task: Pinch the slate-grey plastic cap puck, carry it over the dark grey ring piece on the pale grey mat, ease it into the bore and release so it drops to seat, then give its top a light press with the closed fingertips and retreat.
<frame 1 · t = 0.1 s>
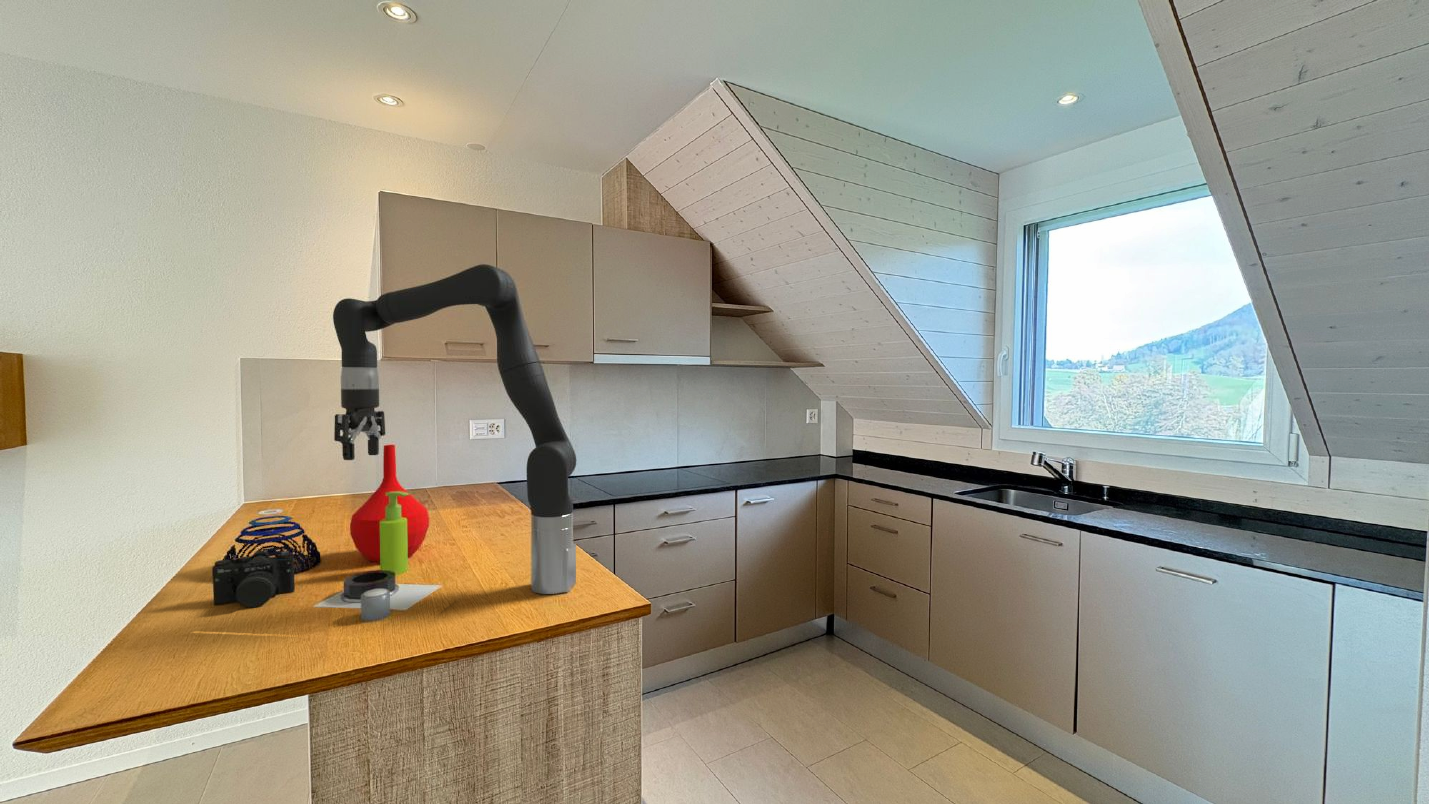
hand: (361, 457, 135), 29 cm above the counter, fingers open, 8 cm apart
dark grey ring piece: (370, 593, 128), resting on mat
mat: (380, 597, 127), on the counter
vase: (391, 558, 155), on the counter
camera: (252, 603, 124), on the counter
decorative bowl: (271, 569, 146), on the counter
cap: (375, 618, 116), on the counter
soap dispenser: (396, 574, 143), on the counter
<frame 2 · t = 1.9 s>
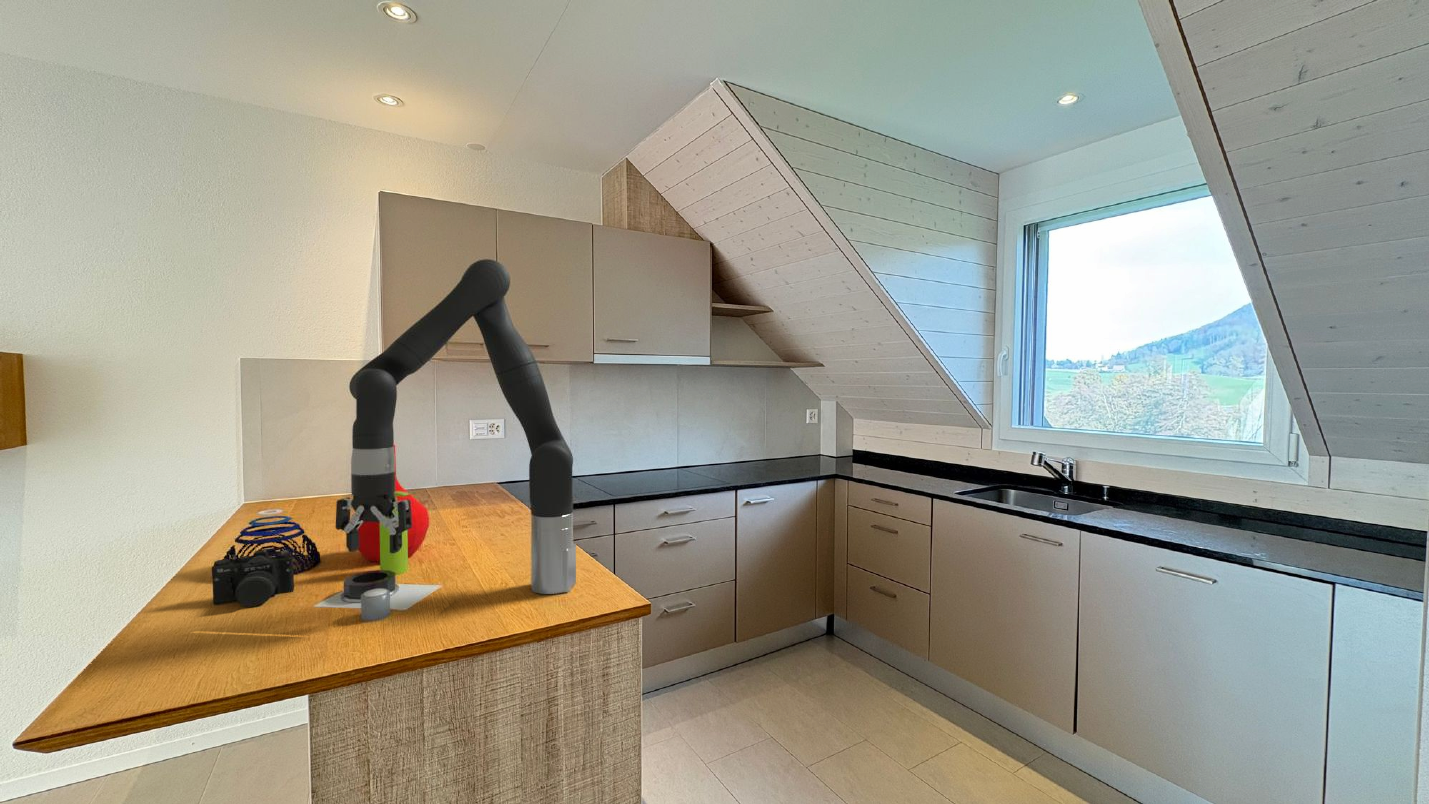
hand: (374, 551, 116), 13 cm above the counter, fingers open, 8 cm apart
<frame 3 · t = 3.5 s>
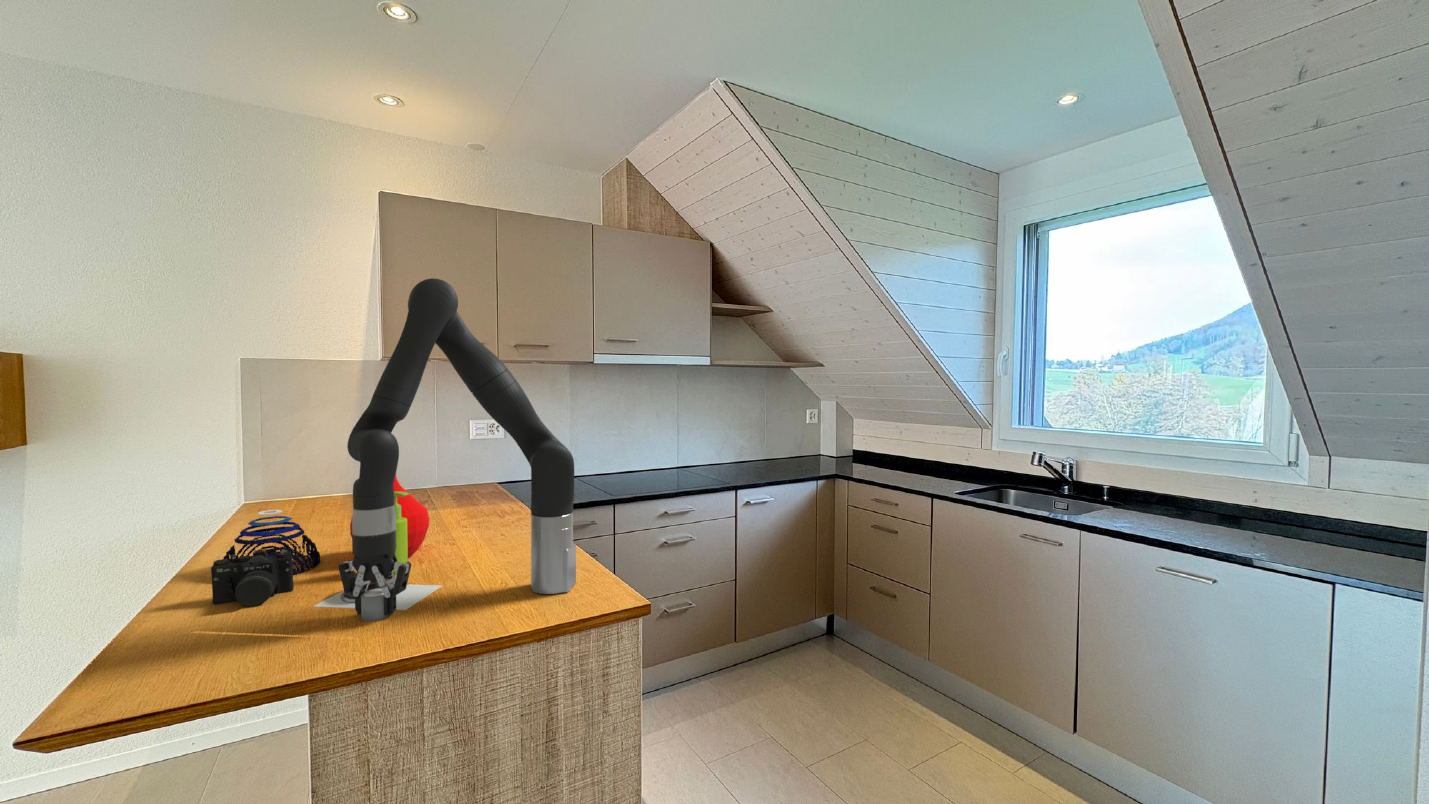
hand: (375, 613, 116), 1 cm above the counter, fingers closed on cap, 5 cm apart
cap: (376, 618, 116), on the counter, touching gripper
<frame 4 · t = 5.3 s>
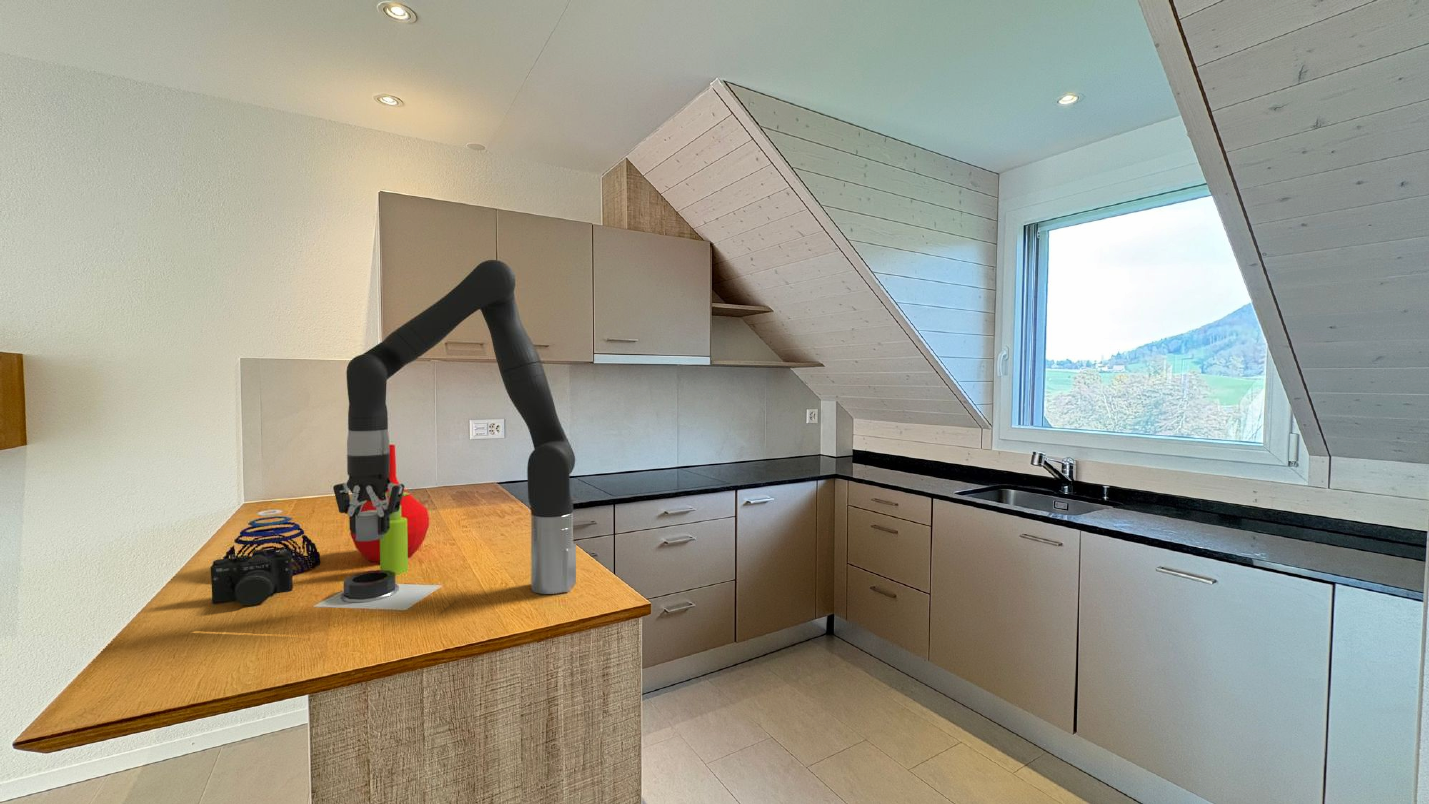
hand: (369, 533, 121), 16 cm above the counter, fingers closed on cap, 5 cm apart
cap: (369, 537, 121), point 15 cm above the counter, touching gripper
when the fingers open (4 cm above the counter, at t = 7.4 s): cap drops 2 cm, resting on dark grey ring piece.
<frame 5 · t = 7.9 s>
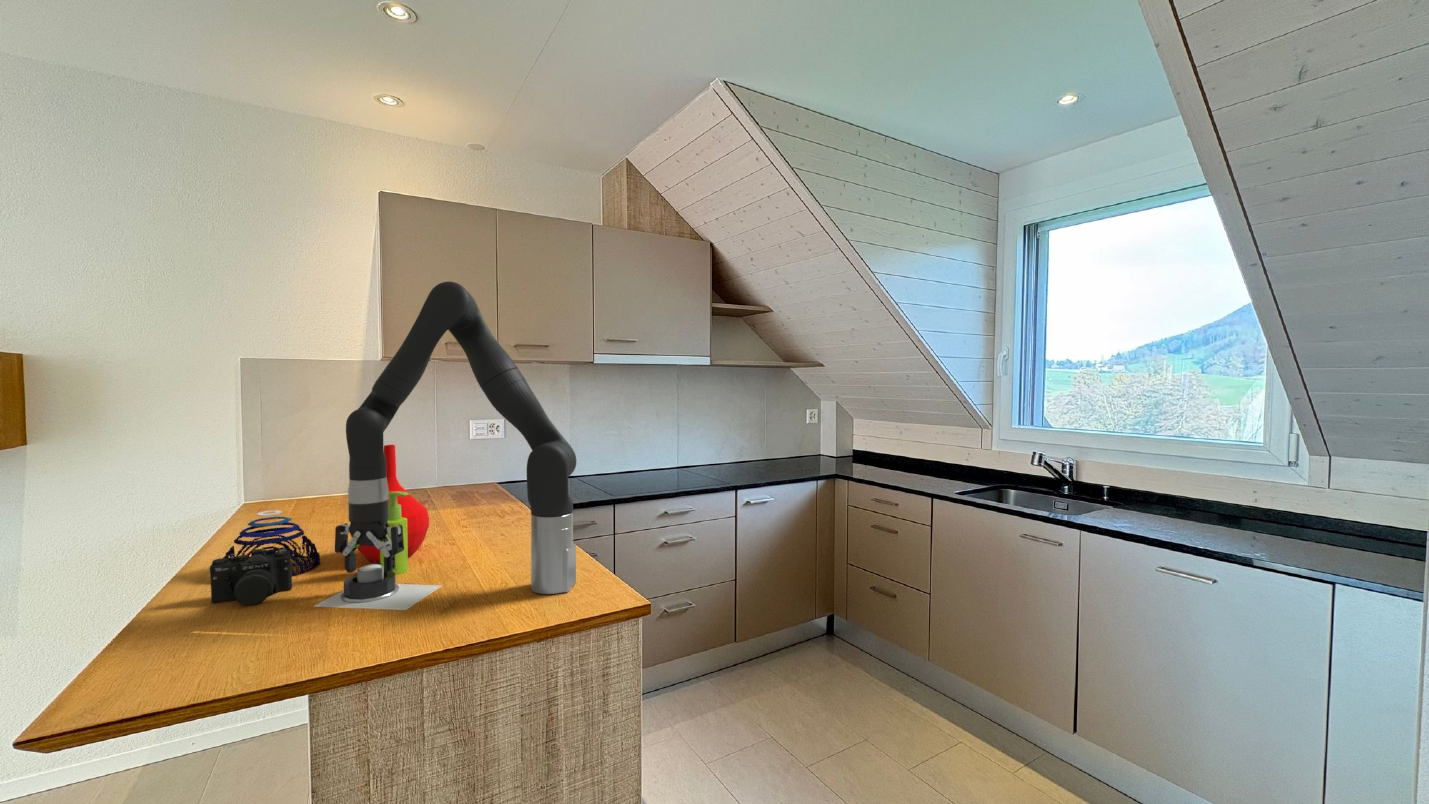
hand: (370, 572, 128), 5 cm above the counter, fingers open, 8 cm apart
cap: (370, 591, 128), point 1 cm above the counter, touching dark grey ring piece
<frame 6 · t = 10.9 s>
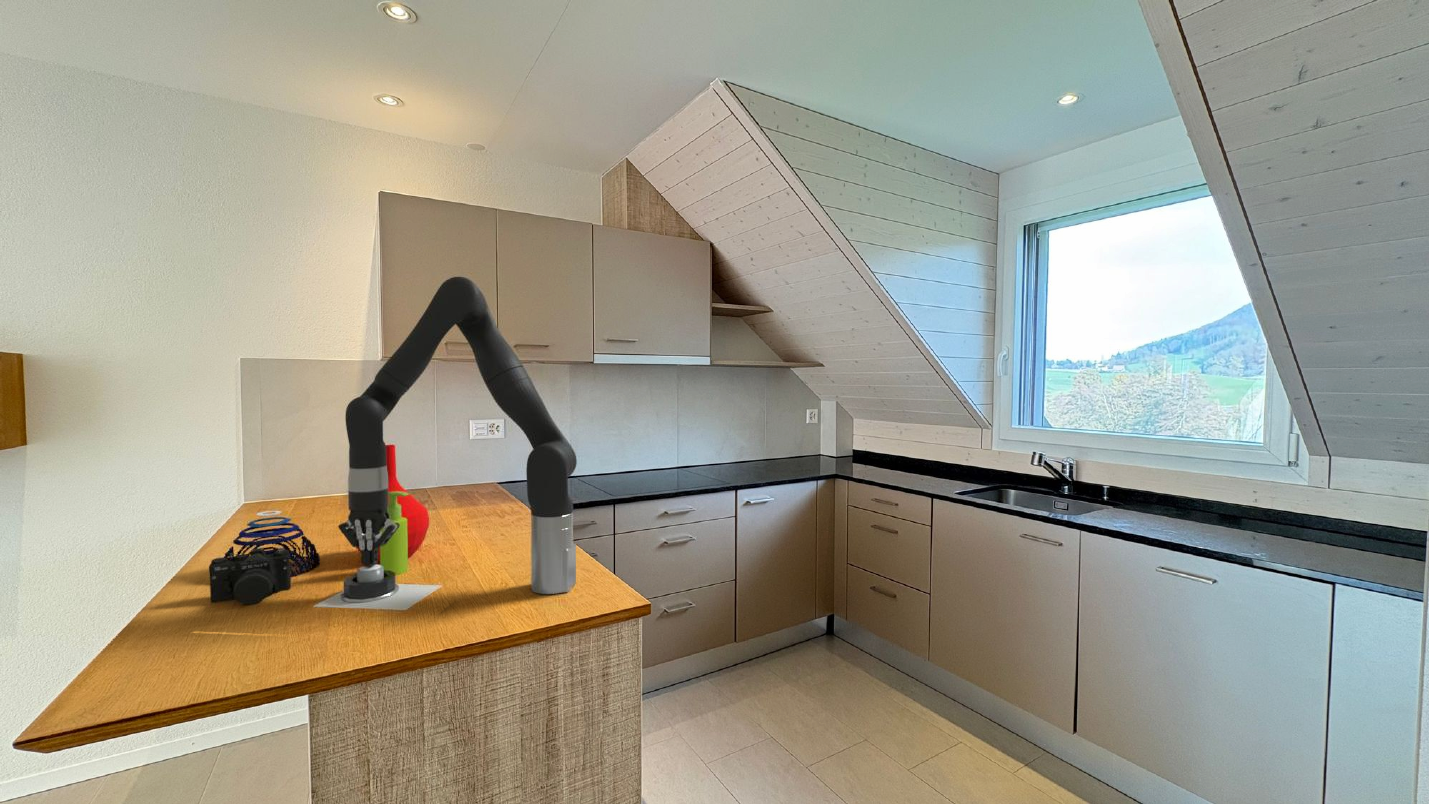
hand: (369, 565, 128), 7 cm above the counter, fingers closed
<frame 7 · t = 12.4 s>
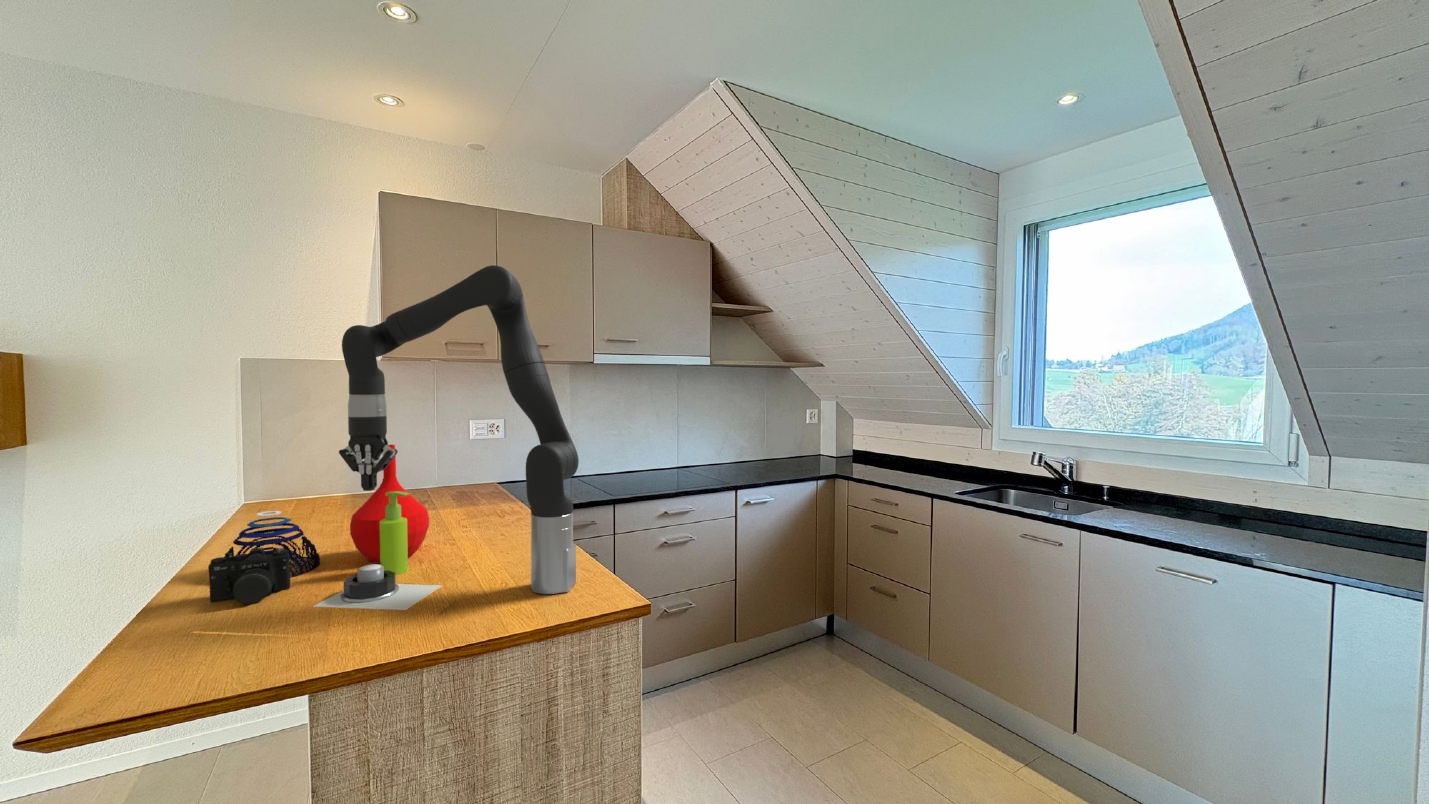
hand: (369, 490, 134), 22 cm above the counter, fingers closed
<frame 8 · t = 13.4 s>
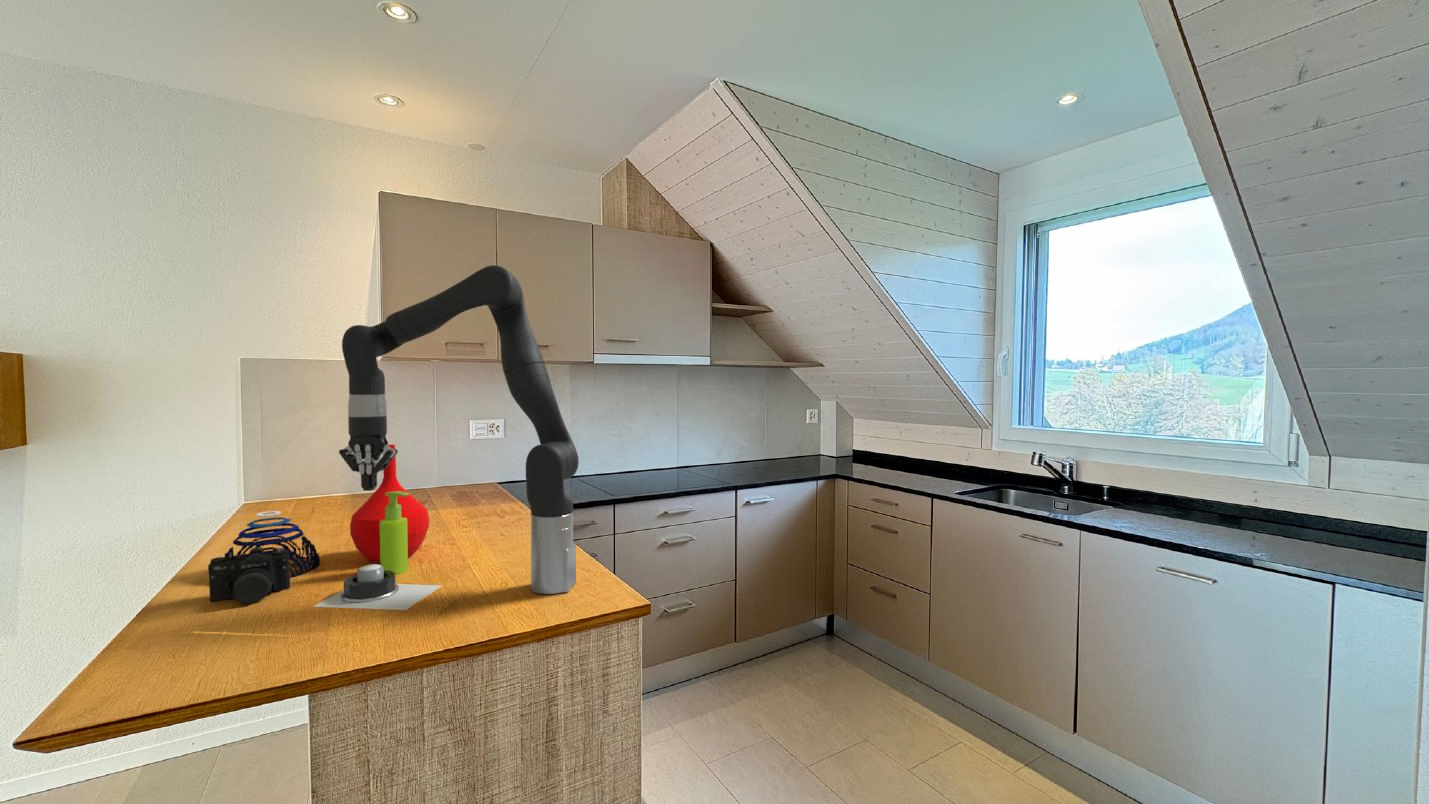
hand: (369, 489, 134), 22 cm above the counter, fingers closed
at the end: cap 0.1 cm from the dark grey ring piece (horizontally); cap point 0.9 cm above the counter; cap tilted 0° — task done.
